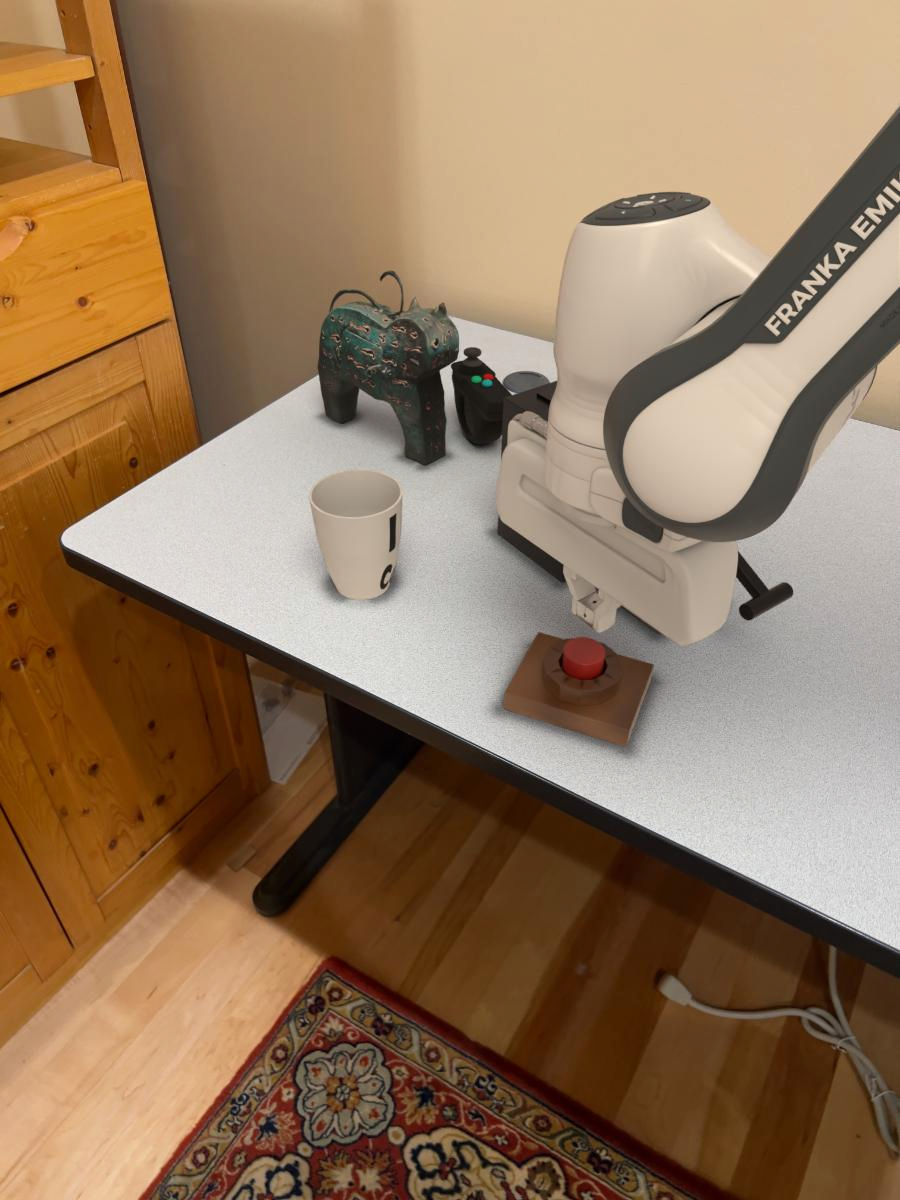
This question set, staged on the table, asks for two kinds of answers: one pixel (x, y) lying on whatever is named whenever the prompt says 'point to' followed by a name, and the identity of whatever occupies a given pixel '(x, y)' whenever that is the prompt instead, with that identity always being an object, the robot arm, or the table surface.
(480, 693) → the table surface
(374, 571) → the cup
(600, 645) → the button
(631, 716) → the control block
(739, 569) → the toaster lever
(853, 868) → the table surface
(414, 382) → the ceramic cat
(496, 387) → the controller
